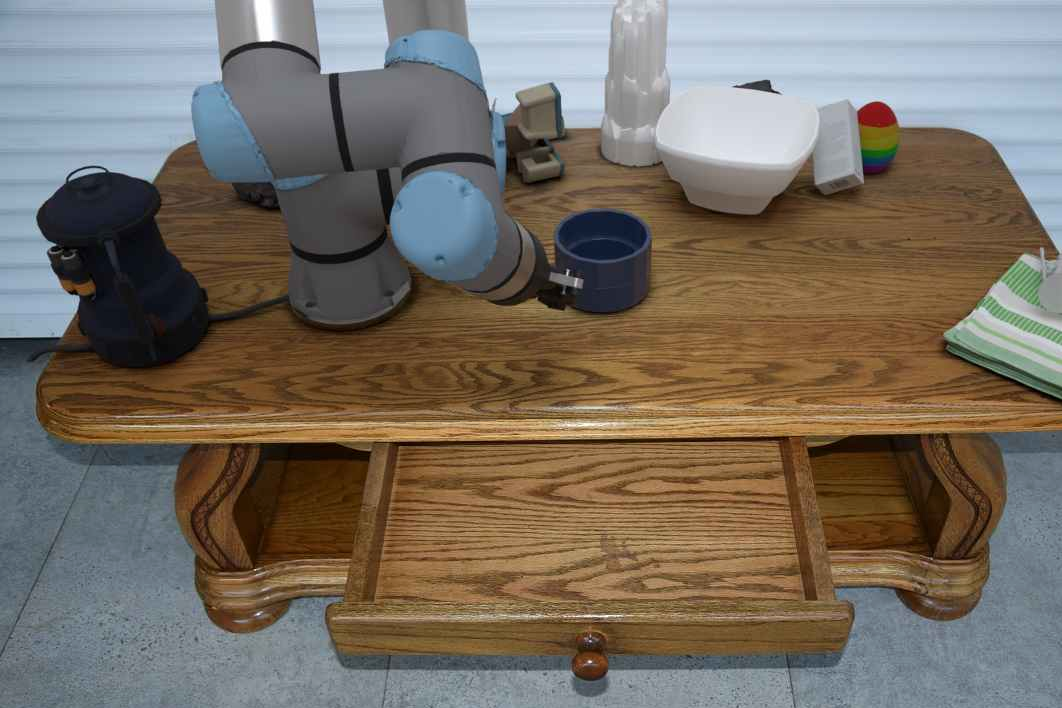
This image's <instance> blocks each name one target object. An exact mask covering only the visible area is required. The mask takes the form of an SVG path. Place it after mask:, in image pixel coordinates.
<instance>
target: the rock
mask: <svg viewBox="0 0 1062 708" xmlns="http://www.w3.org/2000/svg"><path fill="white" fill-rule="evenodd" d="M230 184H231V186H232V187H233V188H234V190H235V195H236V196H237V197H238V198H240V199H243V200H245V201H248V202H251V203H257V202H258V205H259V206H261V207H266V208H267V209H275V208H278V207H280V206H279V202H278V198H277V195H276V191H275V187H274V186H273V184H272V183H271V182H233V183H230Z"/></svg>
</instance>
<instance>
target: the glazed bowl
mask: <svg viewBox="0 0 1062 708" xmlns="http://www.w3.org/2000/svg"><path fill="white" fill-rule="evenodd" d="M552 234H553V254H554V256H553V257H554V266H556V267H557V268H558V269H559V272H560V273H559V274H563V275H564V273H565V270H566V269H568V270H577V269H580V270H582V271H583V272H586V274H585V279H584V283H583V288H582V293H581V297H578V298H575V303H574V305H572V307H575V308H577V309H579V310H583V311H590V312H593V313H609V312H618V311H622V310H625V309H628V308H631V307H633V306H634V307H635V305H637V304H638V303H639V302H641V301H642V300H643V299H645V298H646V296H647V294H648V291H649V289H650V287H651V273H652V271H651V270H652V252H653V251H652V248H653V246H652V245H653V235H652V231H651V227H650V226H649V225H648V223H647V222H645V221H644V220H643V219H642V218H641V217H640V216H637V215H635V214H633V213H630V212H628V211H626V210H621V209H614V208H609V207H607V208H588V209H585V210H581V211H578V212H574V213H572V214H570V215H567V217H565V218H563V219H562V220H560V221H559V222H558V224H557V225H556V227H555V229H554V230H553V233H552Z"/></svg>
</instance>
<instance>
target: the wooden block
mask: <svg viewBox="0 0 1062 708" xmlns="http://www.w3.org/2000/svg"><path fill="white" fill-rule="evenodd" d="M512 112H513V113H512ZM512 112H511V113H512V114H511V115H510V116H509V118H508V119H507V120H506V121H505V123H504V128H505V141H506V145H507V148H508V150H524V149H531V148H532V147H533V146H534V145H535V143H536V142H537V140H538V139H532V140H527V139H525V137H524V136H523V135H522V133H521V132H520V130H519V129H518V125H519V124H520V123H521V108H520V103H519V104H518V105H517V106H516V108H515V109H514V110H513V111H512Z"/></svg>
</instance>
